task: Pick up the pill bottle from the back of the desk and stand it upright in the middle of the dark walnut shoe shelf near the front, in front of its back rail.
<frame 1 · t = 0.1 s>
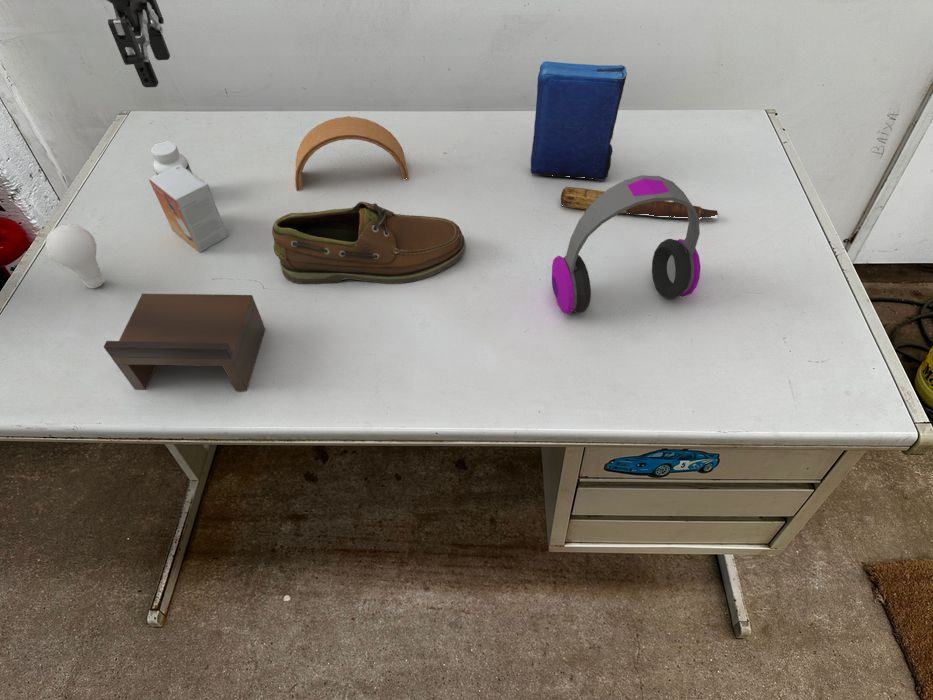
hand: (157, 72, 94), 20 cm above the table, tool pointing down, fingers open, 8 cm apart
hand tool: (636, 213, 104), on the table
boat shoe: (375, 265, 96), on the table
headphones: (617, 297, 92), on the table
pill bottle: (185, 198, 107), on the table
book: (568, 174, 111), on the table
small box: (201, 235, 101), on the table
shelf: (202, 358, 84), on the table
arch: (352, 176, 111), on the table
lightbulb: (98, 286, 93), on the table
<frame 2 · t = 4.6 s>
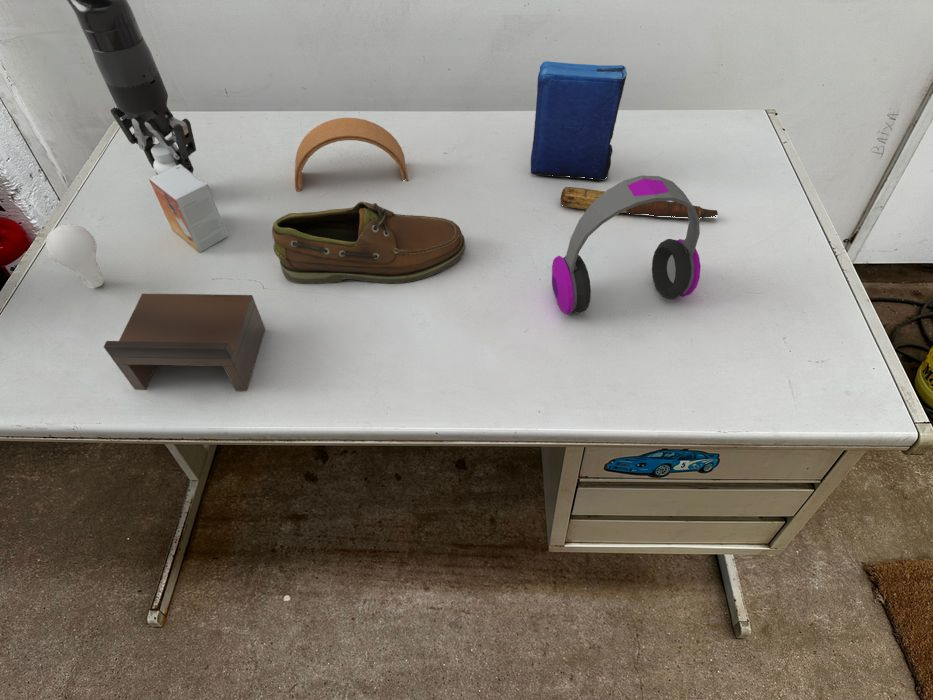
hand: (173, 170, 102), 5 cm above the table, tool pointing down, fingers closed on pill bottle, 5 cm apart
pill bottle: (185, 198, 107), on the table, touching gripper
everything else where it was.
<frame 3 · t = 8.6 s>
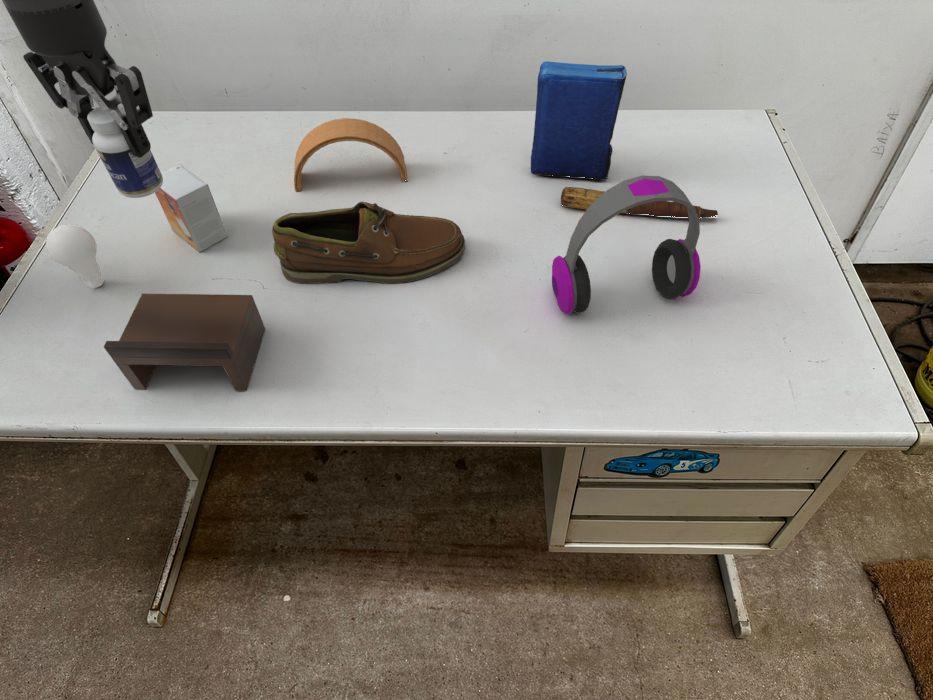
hand: (122, 147, 71), 26 cm above the table, tool pointing down, fingers closed on pill bottle, 5 cm apart
pill bottle: (142, 187, 76), point 20 cm above the table, touching gripper
everything else where it was.
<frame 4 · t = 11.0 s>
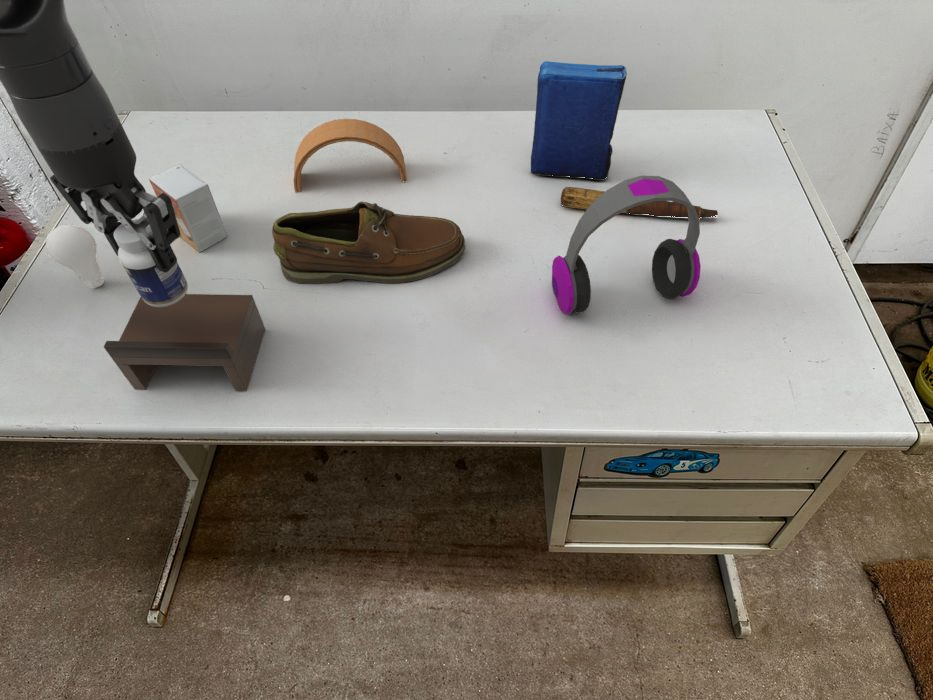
hand: (148, 259, 70), 18 cm above the table, tool pointing down, fingers closed on pill bottle, 5 cm apart
pill bottle: (166, 293, 74), point 13 cm above the table, touching gripper
everything else where it was.
when the fingers open (12 cm above the table, at t = 12.9 s): pill bottle stays where it is, resting on shelf.
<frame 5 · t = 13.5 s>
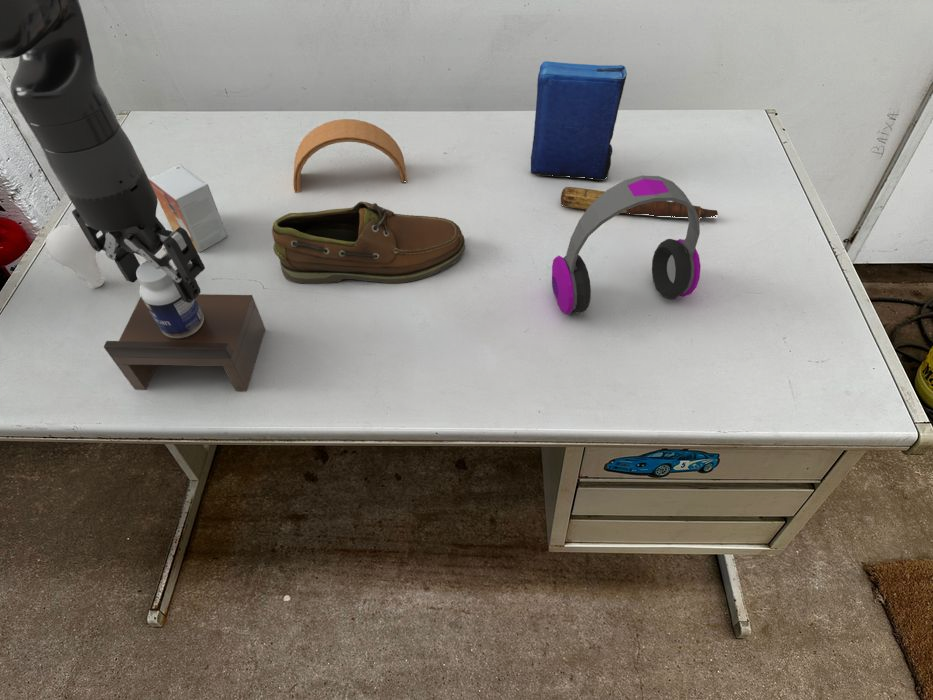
hand: (164, 287, 73), 14 cm above the table, tool pointing down, fingers open, 8 cm apart
pill bottle: (183, 325, 79), point 7 cm above the table, touching shelf
everything else where it was.
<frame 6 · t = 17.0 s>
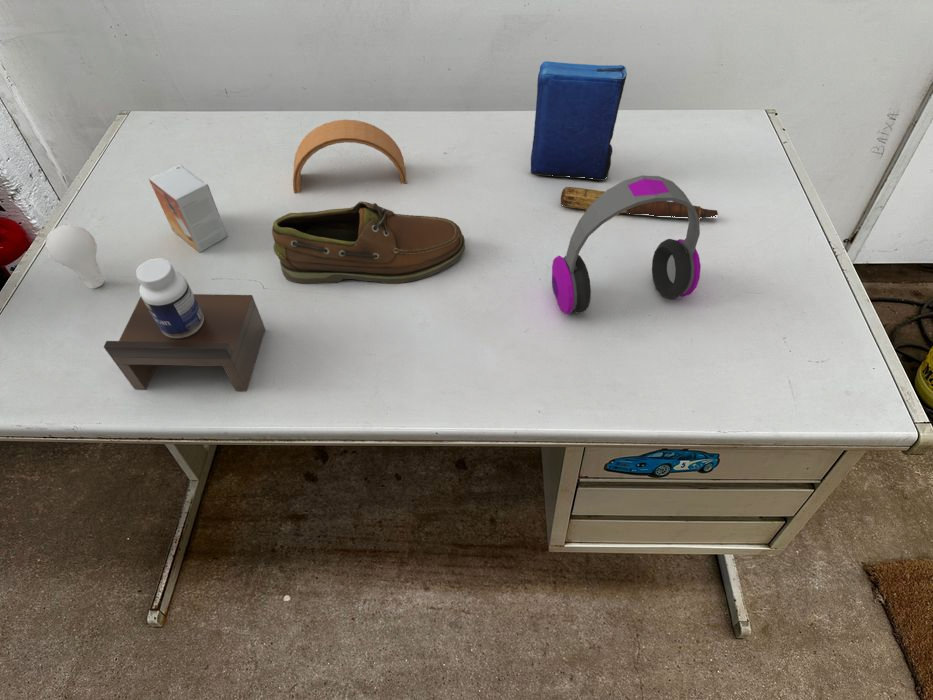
nothing on the table moved.
at the end: pill bottle inside the target area on the shelf (0.2 cm from its centre), point 6.8 cm above the shelf's base; pill bottle tilted 0°; the gripper is holding nothing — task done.
